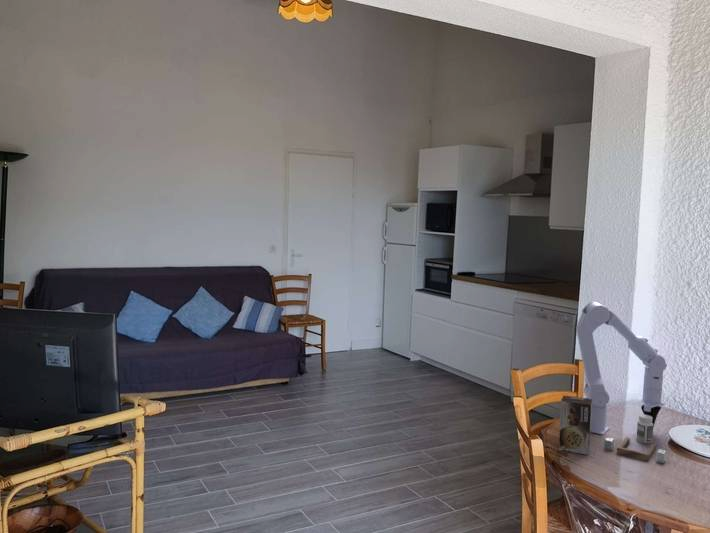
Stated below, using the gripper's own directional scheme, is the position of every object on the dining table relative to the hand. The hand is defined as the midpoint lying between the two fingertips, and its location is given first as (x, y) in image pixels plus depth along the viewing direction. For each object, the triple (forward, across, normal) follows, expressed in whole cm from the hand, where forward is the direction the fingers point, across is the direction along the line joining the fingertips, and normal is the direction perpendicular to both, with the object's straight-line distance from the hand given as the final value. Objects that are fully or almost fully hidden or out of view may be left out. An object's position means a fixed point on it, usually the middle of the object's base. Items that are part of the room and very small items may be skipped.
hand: (649, 426), depth 205 cm
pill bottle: (+3, -8, 0) cm, 9 cm away
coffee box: (+3, -31, +16) cm, 35 cm away
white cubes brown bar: (+2, -20, 0) cm, 20 cm away
